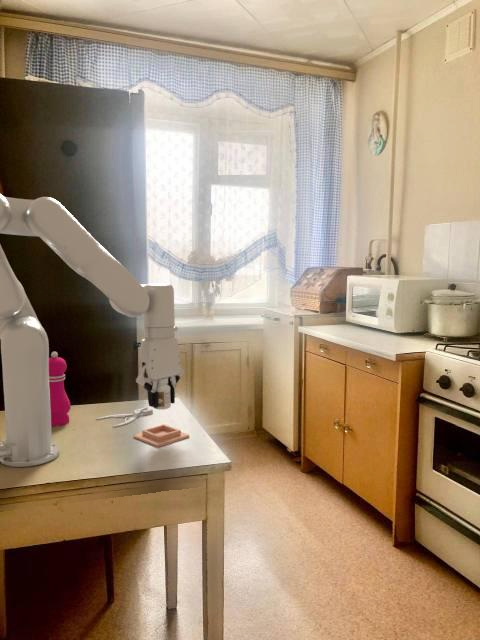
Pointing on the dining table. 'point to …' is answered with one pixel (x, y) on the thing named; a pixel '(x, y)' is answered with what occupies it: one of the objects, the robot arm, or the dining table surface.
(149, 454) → the dining table surface
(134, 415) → the pliers
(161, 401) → the pill bottle
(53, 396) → the pepper mill
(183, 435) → the rest
